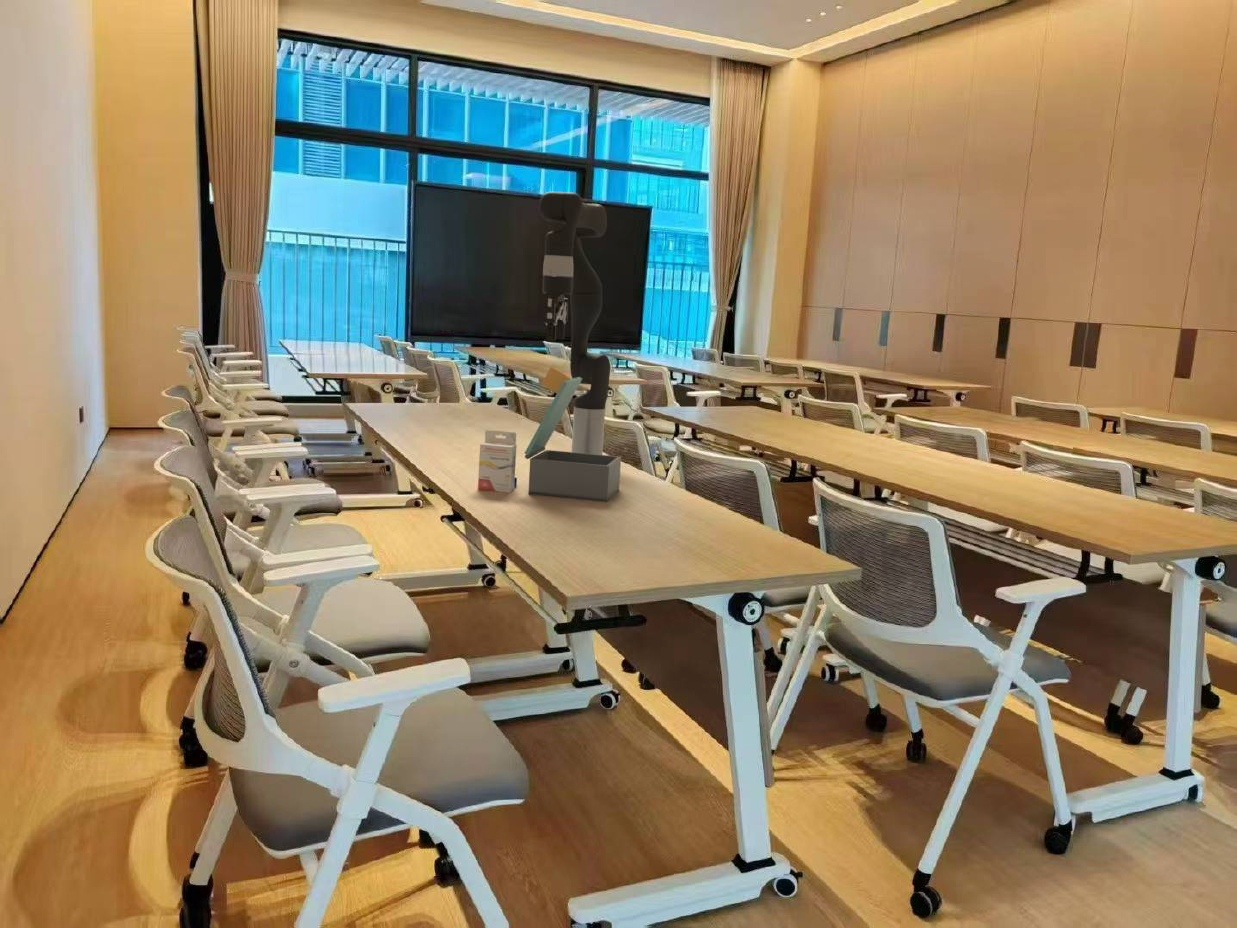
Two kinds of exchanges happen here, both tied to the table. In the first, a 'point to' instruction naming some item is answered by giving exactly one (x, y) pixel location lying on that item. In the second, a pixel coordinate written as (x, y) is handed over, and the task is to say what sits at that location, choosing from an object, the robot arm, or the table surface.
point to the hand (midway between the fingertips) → (555, 340)
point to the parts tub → (574, 475)
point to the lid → (553, 408)
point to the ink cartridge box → (497, 462)
